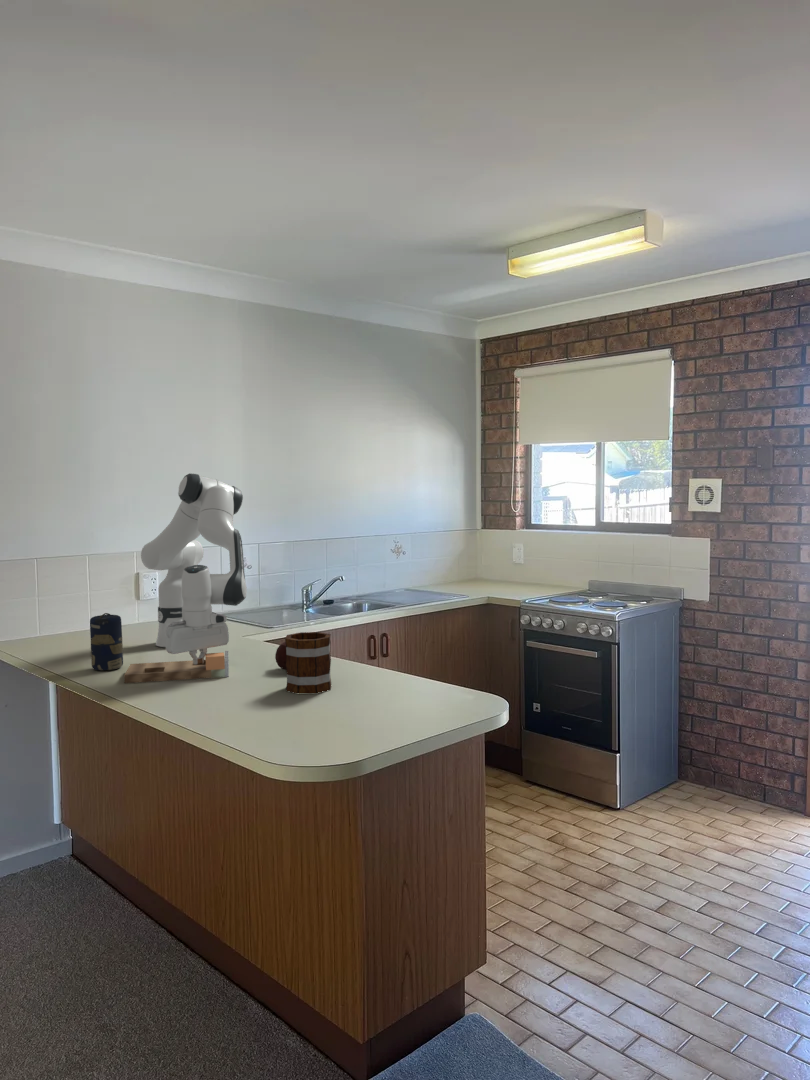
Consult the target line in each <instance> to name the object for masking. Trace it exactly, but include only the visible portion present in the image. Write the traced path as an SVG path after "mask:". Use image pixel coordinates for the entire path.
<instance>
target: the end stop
mask: <svg viewBox="0 0 810 1080" xmlns="http://www.w3.org/2000/svg"><path fill="white" fill-rule="evenodd" d="M229 658H230V657H229V650H225V651H224V659H225V677H224V678H229V673H230V671H229V670H230V668H229V667H230V665H229V661H230V659H229Z"/></svg>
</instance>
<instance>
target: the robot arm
mask: <svg viewBox="0 0 810 1080" xmlns="http://www.w3.org/2000/svg"><path fill="white" fill-rule="evenodd" d="M177 494H178V497H179V499H180V500H181V502H180V504H179V506H178V508H177V510H176V512H175V513H174V516H173V517H172V519H171V520H170V522H169V524H168V525H166V527H165V528H164V529H163V530H162V531H161V532H160V533H159V534H158V535H157V536H156V537H155V538H154V539H152V540H151V541H149V542H147V543H146V544H144V546H143V547H142V549H141V550H140V551H141V552H140V559H141V562H142V564H143V566H144V567H146V569H149V570H154V571H166V570H167V574H166V575H165V577H164V579H163V580H162V581H161V582H160V583H159V585H158V606H157V621H158V628H157V629H158V632H157V638H156V642H155V646H156V647H161V648H165V650H166V651H165V652H167V653H168V654H171V655H175V654H182V653H188V654H189V655H190V657H191V658H192V660H193V664H194V665H197V664H202V663H204V660H205V654H207V652H208V649H210V648H215V647H216V648H217V647H221V646H222V647H223V646H227V645H228V643H229V641H230V640H229V639H230V635H229V634H230V633H229V626H228V624H227V623H226V622H228V621H227V616H226V615H224V614H220V613H217V612H213V607H212V605H226V606H232V607H233V606H234V607H237V606H238V605H240V604H241V603H242V602H244V601H245V599H246V597H247V593H248V589H247V583H246V576H245V564H244V563H245V561H244V549H243V540H242V535H241V533H240V531H239V530H238V529H237V528H235V527H234V523H233V521H234V515H236V514H237V513H238V512H239V511H240V509H241V506H242V504H243V499H244V497H243V493H242V491H241V490H240V489H239V488H238V487H236V486H234V485H230V484H227V483H226V482H223V481H222V480H219V479H214V478H212V477H206V476H202V475H200V474H197V473H188V474H186V475H184V477H183V478H182V479H181V481H180V483H179V485H178V492H177ZM200 535H201V537H203V539H205V540H206V541H207V542H209V543H211V544H213V545H214V546H218V547H221V548H223V549H226V550H228V552H229V555H228V556H229V568H230V569H229V571H228V572H227V573H210V570H209V567H208V566H207V565H203V564H200V562H201V561H202V560H203V558H204V548H203V545H202V543H201V542H200V541H199V540H197V538H198V537H199V536H200ZM198 650H199V652H200V654H199V656H198V657H197V654H198Z"/></svg>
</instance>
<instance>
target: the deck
mask: <svg viewBox="0 0 810 1080" xmlns="http://www.w3.org/2000/svg"><path fill="white" fill-rule="evenodd" d="M123 677H124V678H123V679H124V681H123V682H124V684H131V683H132V684H133V683H134V684H135V683H150V682H165V681H168V682H169V681H178V680H179V681H182V680H183V681H184V680H197V679H198V680H199V679H213V678H214V679H217V678H226V677H225V669H217V670H206V659H204V663H202V664H197V665H194V664H193V659H192V660H179V661H177V660H176V661H160V662H142V663H141V662H140V663H130V664H129V666H128V668H127V669H126V671H125V672H124V675H123Z"/></svg>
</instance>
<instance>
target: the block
mask: <svg viewBox="0 0 810 1080" xmlns="http://www.w3.org/2000/svg"><path fill="white" fill-rule="evenodd" d="M204 660H206V670H217V669H225V651H224V652H210V653H206V654H205V657H204Z"/></svg>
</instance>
